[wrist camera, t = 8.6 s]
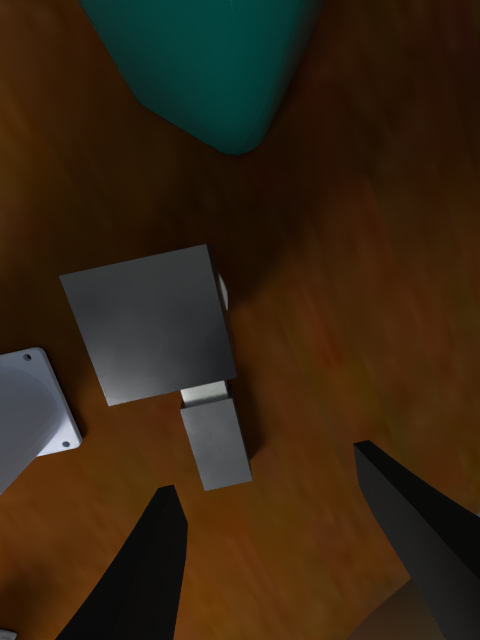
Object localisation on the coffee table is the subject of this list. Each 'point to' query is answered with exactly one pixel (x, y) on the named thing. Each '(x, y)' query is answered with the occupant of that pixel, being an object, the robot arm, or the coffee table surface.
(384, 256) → the coffee table surface
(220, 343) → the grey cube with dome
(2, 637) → the medicine box
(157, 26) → the teal green bottle
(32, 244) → the coffee table surface
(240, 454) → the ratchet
